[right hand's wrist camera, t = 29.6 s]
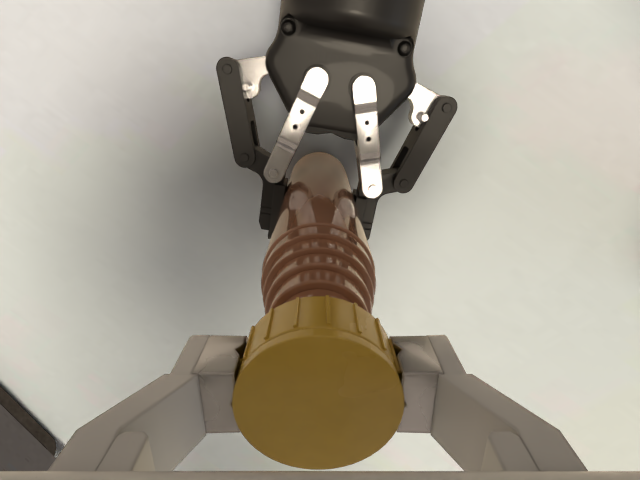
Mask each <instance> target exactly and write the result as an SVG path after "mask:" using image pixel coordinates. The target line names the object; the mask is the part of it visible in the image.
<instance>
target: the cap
mask: <svg viewBox="0 0 640 480" xmlns="http://www.w3.org/2000/svg"><path fill="white" fill-rule="evenodd" d="M240 362H241V365H240V368H239V372H238V376H237V379H236V383H235V386H234V390H233V396H232V408H233V414H234V418H235V421H236V423H237V426H238V428H239V430H240V431H241V433H242V434H243V436H244V437H245V438H246V439H247V441H248V442H249V443H250V444H251V445H252V446H253V447H254V448H256V449H257V450H258V451H260V452H261V453H262V454H264V455H266V456H267V457H269V458H271V459H273V460H275V461H278V462H280V463H282V464H286V465H289V466H293V467H298V468H303V469H333V468H339V467H344V466H347V465H351V464H354V463H356V462H359V461H361V460H363V459H365V458H367V457H369V456H371V455H372V454H374V453H375V452H377V451H378V450H380V449H381V448H382V447H383V446H384V445H385V444H386V443H387V442H388V441H389V440H390V439H391V438H392V436H393V435H394V433H395V432H396V430H397V429H398V426H399V424H400V422H401V419H402V416H403V412H404V392H403V388H402V384H401V380H400V377H399V373H400V369H399V365H398V362H397V357H396V353H395V350H394V347H393V344H392V340H391V339H388V336H387V334H386V332H385V330H384V329H383V327H382V326H381V325H380V321H379V319H378V318H376V319H375V318H374V317H373V316H372V315H371V314H370V313H368V312H367V311H365V310H364V309H363V308H361V307H359V306H358V305H357V303H355V302H354V304H353V303H351V302H348V301H346V300H343V299H338V298H334V297H329V295H326V296H312V297H303V298H299V297H296V299H294V300H292V301H289V302H286V303H284V304H282V305H280V306H278V307H276V308H274V309H273V308H271V309H270V311H269V312H268V313H267V314H266V315H265V316H264V317H263V318H261V320H260V321H259V322H258V323H257V324H256V325H255V326H252V327H251V330H250V334H249V338H248V340H247V343H246V347H245V351H244V354H243V358H242V359H240Z"/></svg>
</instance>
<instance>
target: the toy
mask: <svg viewBox="0 0 640 480" xmlns="http://www.w3.org/2000/svg"><path fill="white" fill-rule="evenodd" d="M55 451H56V444H55V441H54V439H53V438H52V437H51V436H50V435H49V434H48V433H47V432H46V431H45V430H44V429H43V428H42V427H41V426H40V425H39V424H38V423H37V422H36V421H35V420H34V419H33V418H32V417H31V416H30V415H29V414H28V413H27V412H26V411H25V410H24V409H23V408H22V407H21V406H20V405H19V404H18V403H17V402H16V401H15V400H14V399H13V398H12V397H11V396H10V395H9V394H8V393H7V392H6V391H5V390H4V389H2V388H1V387H0V471H48V469H49V468H50V466H51V465H52V464H53V462H54V461H55V460H56V458H55V457H54V455H55Z"/></svg>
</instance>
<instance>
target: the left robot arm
mask: <svg viewBox="0 0 640 480" xmlns="http://www.w3.org/2000/svg"><path fill="white" fill-rule="evenodd" d="M424 2H425V0H281V8H280V17H279V26H278V31H277V34H276V37H275V39H274V41H273V43H272V44H271V46H270V47H269V49H268V51H267V53H266V56H261V57H254V58H247V59H239V60H236V59H233V58H230V57H223V58H221V59H220V60H219V61H218V63H217V66H216V70H217V75H218V80H219V85H220V90H221V95H222V100H223V105H224V109H225V114H226V119H227V124H228V129H229V134H230V139H231V144H232V149H233V154H234V159H235V161H236V163H237V164H238V165H239V166H241V167H244V168H249V169H251V170H253V171H254V172H256V173H258V174H259V175H260V176H261V178H262V180H263V190H262V199H261V208H260V217H259V223H260V226H261V229H265V230H269V232H268V239H271V236H272V233H273V230H274V227H275V224H276V220H277V217H278V214H279V211H280V208H281V205H282V202H283V198H284V195H285V192H286V189H287V183H288V178H285V175H286V170H287V168H288V166H289V164H290V162H291V160H292V158H293V155H294V153H295V151H296V149H297V147H298V145H299V143H300V141H301V139H302V137H303V135H304V132H306V133H312V134H325V133H333V134H335V135H337V136H339V137H342V138H344V139H349V140H354V147H355V153H356V160H357V169H358V178H359V182H358V187H357V189H353V197H354V200H355V204H356V207H357V210H358V213H359V216H360V220H361V223H362V226H363V229H364V232H365V236H366V239H367V240H368V239H369V237H370V232H371V228H372V223H373V219H374V214H375V210H376V205H377V202H378V200H379V198H380V197H381V196H383V195H384V194H387V193H392V192H399V193H407V192H409V191H410V190H411V189H412V188H413V186H414V184H415V182H416V181H417V179H418V177H419V175H420V174H421V172H422V170H423V169H424V167H425V165H426V163H427V162H428V160H429V158H430V156H431V155H432V153H433V151H434V149H435V148H436V146H437V144H438V142H439V141H440V139H441V137H442V135H443V134H444V132H445V130H446V128H447V127H448V125H449V123H450V121H451V120H452V118H453V116H454V115H455V113H456V111H457V102H456V100H455V99H454V98H452V97H449V96H444V95H438V94H437V93H435V92H433V91H431V90H429V89H427V88H425V87H423V86H422V85H420V84H418V83H416V74H415V71H414V66H413V52H414V47H415V42H416V38H417V33H418V29H419V24H420V20H421V15H422V11H423V7H424ZM268 74H269V76H270V78H271V80H272V82H273V84H274V86H275V88H276V90H277V92H278V94H279V95H280V97H281V99H282V101H283V103H284V105H285V107H286V109H287V111H288V113H289V115H288V117H287V119H286V121H285V123H284V126H283V128H282V130H281V132H280V135H279V137H278V139H277V142H276V144H275V146H274V149H273V151H272V153H270V152H268V151H266V150H265V149H263V148H261V147H260V144H259V139H258V133H257V127H256V122H255V116H254V111H253V105H252V99H251V98H254V97H256V96H257V95H258V94H259V93H260V90H261V81H262V79H263V77H264V76H266V75H268ZM406 99H408V101H409V103H410V111H409V114H408V119H409V121H410V123H411V124H412V125H413V127H412V129H411V130H410V132H409V134H408V136H407V138H406V140H405V141H404V143H403V145H402V147H401V149H400V151H399V153H398V154H397V156H396V158H395V160H394V162H393V164H392V165H391V167H390V168H389V169H384V170H381V165H380V158H381V152H380V140H379V129H378V127H379V126H380V125H381V124H382V123H383V122H384V121H385V120H386V119H387V118H388V117H389V116H390V115H391V114H392V113H393V112H394V111H395V110H396V109H397V108H398V107H399V106H400V105H401V104H402V103H403V102H404V101H405V100H406Z"/></svg>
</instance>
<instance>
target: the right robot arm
mask: <svg viewBox="0 0 640 480" xmlns="http://www.w3.org/2000/svg"><path fill="white" fill-rule="evenodd" d="M389 339H391V340H392V344H393V347H394V350H395V353H396V357H397V362H398V365H399V369H400V373H399V377H400V380H401V384H402V388H403V392H404V412H403V416H402V419H401V422H400V424H399V426H398V429H397V432H409V433H431V436H432V437H433V438H434V439H435V440H436V441H437V442H438V443H439V444H440V445H441V446H442V447H443V448H444V450H445V451H446V452H447V453H448V454H449V455H450V456H451V457H452V458H453V459H454V460H455V461H456V462H457V463H458V465H459V466H460V467H461V468H462V469H463V470H464V471H173V469H174V468H175V467H176V466H177V465H178V464H179V463H180V462H181V461H182V460H183V459H184V458H185V457H186V456H187V455H188V454H189V453H190V452H191V450H192V449H193V448H194V447H195V446H196V445H197V444H198V443H199V442H200V441H201V440H202V439H203V438H204V437H205V436H206V433H228V432H240V430H239V428H238V426H237V423H236V421H235V418H234V414H233V408H232V396H233V390H234V386H235V383H236V379H237V376H238V372H239V368H240V365H241V362H240V359H242V358H243V354H244V351H245V347H246V343H247V340H248V338H247V336H222V335H211V336H210V335H193V336H191V337H190V338H189V339H188V341H187V343H186V345H185V347H184V349H183V350H182V352H181V354H180V356H179V358H178V360H177V362H176V364H175V366H174V367H173V369H172V371H171V373H170V374H164V375H162V376H161V377H159V378H158V379H156V380H155V381H153V382H151V383H150V384H148V385H147V386H145V387H143V388H142V389H140V390H139V391H137V392H136V393H134V394H132V395H131V396H129V397H128V398H126V399H125V400H123V401H121V402H120V403H118V404H117V405H115V406H114V407H112V408H110V409H109V410H107V411H106V412H104V413H103V414H101V415H99V416H98V417H96V418H95V419H93V420H91V421H90V422H88V423H87V424H85V425H84V426H82V427H80V428H79V429H77V430H76V432H75V433H74V434H73V436H72V437H71V439H70V440H69V441H68V443H67V444H66V446H65V447H64V448H63V450H62V451H61V453H60V454H59V455H58V457H57V458H56V460H55V461H54V462H53V464H52V465H51V466H50V468H49V469H48V471H0V480H640V471H588V470H587V469H586V467H585V466H584V465H583V463H582V462H581V460H580V459H579V457H578V456H577V455H576V453H575V452H574V450H573V449H572V447H571V446H570V444H569V443H568V442H567V440H566V439H565V437H564V436H563V434H562V433H561V432H560V430H558V429H557V428H555V427H554V426H552V425H550V424H549V423H547V422H546V421H544V420H543V419H541V418H540V417H538V416H536V415H535V414H533V413H532V412H530V411H529V410H527V409H526V408H524V407H522V406H521V405H519V404H518V403H516V402H515V401H513V400H512V399H510V398H508V397H507V396H505V395H504V394H502V393H501V392H499V391H498V390H496V389H494V388H493V387H491V386H490V385H488V384H487V383H485V382H484V381H482V380H480V379H479V378H477V377H476V376H474V375H473V374H466V372H465V370H464V368H463V366H462V364H461V362H460V361H459V359H458V357H457V355H456V353H455V351H454V349H453V347H452V345H451V343H450V341H449V340H448V338H447V336H445V335H427V336H390V337H389Z"/></svg>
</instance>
